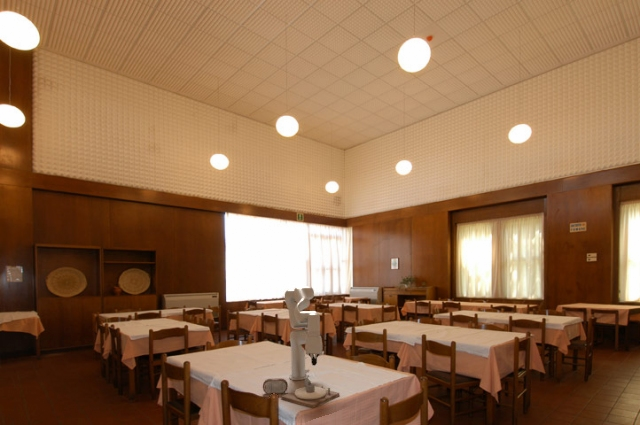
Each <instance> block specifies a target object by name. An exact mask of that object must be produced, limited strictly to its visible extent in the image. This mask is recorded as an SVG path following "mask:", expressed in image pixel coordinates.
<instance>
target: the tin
mask: <svg viewBox="0 0 640 425" xmlns="http://www.w3.org/2000/svg"><path fill="white" fill-rule="evenodd" d="M288 384H289V383H288V381H287V380H286V379H284V378H266V379H265V380H264V381H263V384H262V390H263V392H264V393H265V394H267V395H272V394H271V393H277V394H276V395H281V394H285V393H286V392H287V390H288V387H289V385H288Z"/></svg>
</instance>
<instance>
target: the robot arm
mask: <svg viewBox="0 0 640 425" xmlns="http://www.w3.org/2000/svg"><path fill="white" fill-rule="evenodd" d="M314 297H315V290H314V288H313V287H312V286H297V287H295V288H293V289H288V290H286V291H285V292H284V301H285V304H286V307H287V310H288V316H289V324H290V328H292V329H295V330H292V331H291V332H290V333H289V341H290V352H291V354H290V356H291V357H290V358H291V359H290V361H291V363H290V364H291V365H290V366H291V367H290V368H291V370H290V371H291V374H290V375H289V379H290V380H292V381H303V380H304V381H305V378H308V377H309V376H308V374H307V373H310V372H311V370H310V369H309V368H308V369H306V356H309V357H310V358H311V359H310V360H311V365H312V366H316V365H317V363H318V357H320V356H323V355H324V353H323V350H324V349H323V346H324V345H323V339H322V336H321V317H320V316H321V315H320V314H319V313H318V312H317V311H316V310H312V311H311V310H310V311H303V310H305V309H307V308H309V306H310V304H311V301H310V300H313V298H314ZM303 345H304V346H305V347H303ZM308 379H309V378H308Z"/></svg>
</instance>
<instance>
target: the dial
mask: <svg viewBox="0 0 640 425" xmlns="http://www.w3.org/2000/svg"><path fill="white" fill-rule="evenodd" d="M326 390H327V389H325V388H324V387H323V388H321V387H319V386H316V385H315V384H312V383H311V380H310V379H309V378H305V379H304V386H303V387H300V388H297V389H295V390H294V391H295V396H296V397H297V398H300V399H307V400H311V399H319V398H322V397H324V396H325V395H326Z"/></svg>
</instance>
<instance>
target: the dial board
mask: <svg viewBox="0 0 640 425" xmlns="http://www.w3.org/2000/svg"><path fill="white" fill-rule="evenodd" d="M321 388H323V389H324V385H321ZM327 388H328V389H325V390H326V395H325V396H324V397H322V398H319V399H311V400H307V399H300V398H297V397H296V396H295V391H296V390H294V391H292V392H289V393H286V394H284V395H281V398H280V399H281V400H282V401H283V400H284V401H286V402H289V403H294V404H297V405H301V406H303V407H307V408H312V409H315V408H316V407H318V406H321V405H323V404H325V403H327V402H329V401H331V400H333V399H335V398H337V397H339V396H340V392H337V391H333V390H331V387H327Z"/></svg>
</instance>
